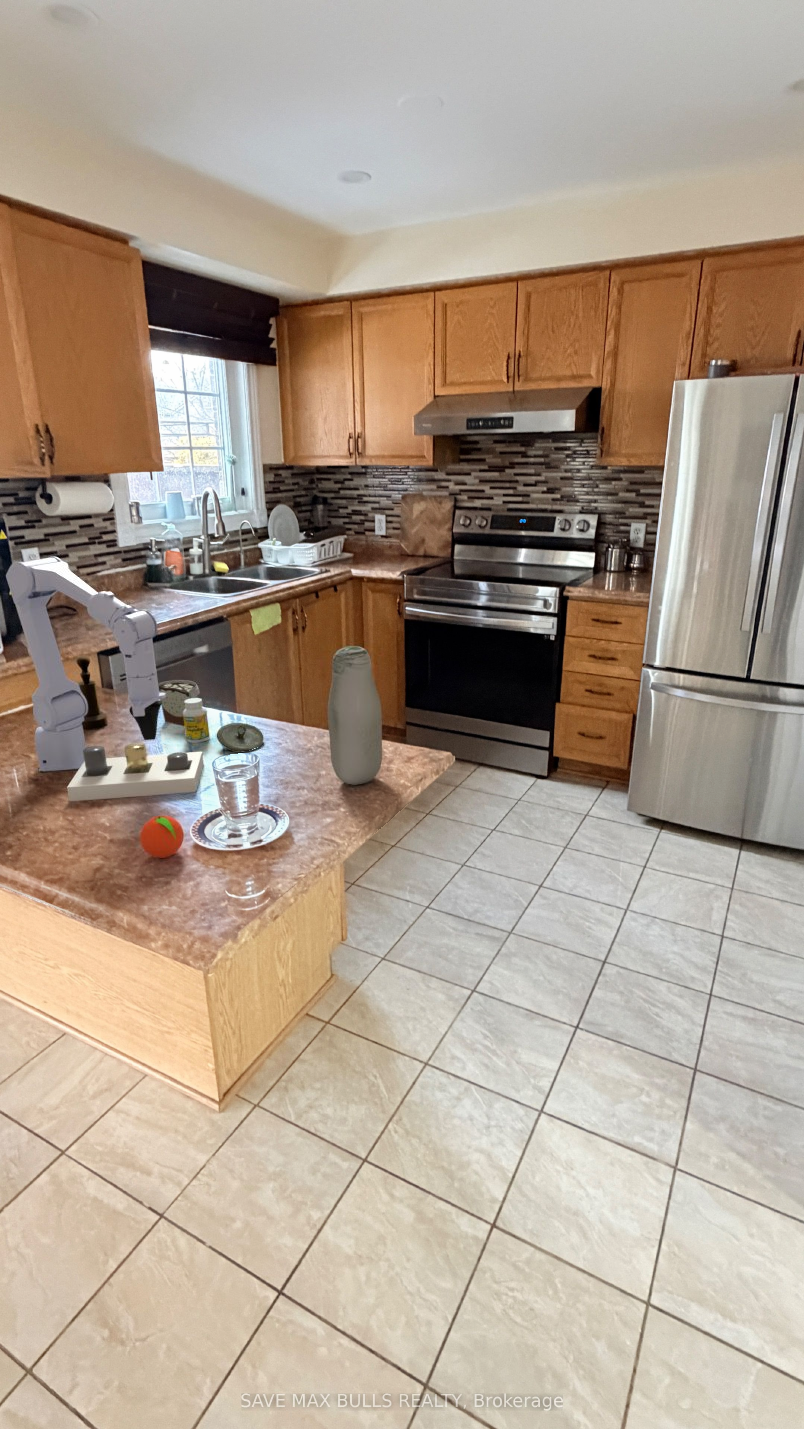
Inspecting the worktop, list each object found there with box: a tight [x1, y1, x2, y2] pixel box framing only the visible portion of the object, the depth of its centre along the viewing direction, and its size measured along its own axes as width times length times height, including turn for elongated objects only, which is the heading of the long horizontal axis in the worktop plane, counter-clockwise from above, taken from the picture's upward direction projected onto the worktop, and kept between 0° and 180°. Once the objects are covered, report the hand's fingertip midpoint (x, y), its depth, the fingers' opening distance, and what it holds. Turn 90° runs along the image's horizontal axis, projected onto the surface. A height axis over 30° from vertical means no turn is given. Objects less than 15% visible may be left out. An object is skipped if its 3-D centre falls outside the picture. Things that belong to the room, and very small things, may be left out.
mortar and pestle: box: [76, 654, 108, 731], centre depth 184 cm, size 7×6×18 cm
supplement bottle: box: [183, 697, 211, 744], centre depth 175 cm, size 5×5×10 cm
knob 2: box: [167, 751, 189, 771], centre depth 154 cm, size 4×4×5 cm
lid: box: [216, 722, 265, 753], centre depth 172 cm, size 11×10×5 cm
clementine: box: [139, 814, 185, 859], centre depth 124 cm, size 8×7×7 cm
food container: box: [158, 679, 200, 728], centre depth 187 cm, size 12×6×10 cm, turn 58°
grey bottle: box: [327, 645, 383, 786], centre depth 147 cm, size 10×10×28 cm
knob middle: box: [124, 742, 148, 773], centre depth 152 cm, size 4×4×5 cm
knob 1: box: [83, 745, 108, 776], centre depth 151 cm, size 4×4×5 cm
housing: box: [66, 751, 205, 802], centre depth 154 cm, size 24×14×3 cm, turn 98°
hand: (150, 738), depth 151 cm, fingers closed
